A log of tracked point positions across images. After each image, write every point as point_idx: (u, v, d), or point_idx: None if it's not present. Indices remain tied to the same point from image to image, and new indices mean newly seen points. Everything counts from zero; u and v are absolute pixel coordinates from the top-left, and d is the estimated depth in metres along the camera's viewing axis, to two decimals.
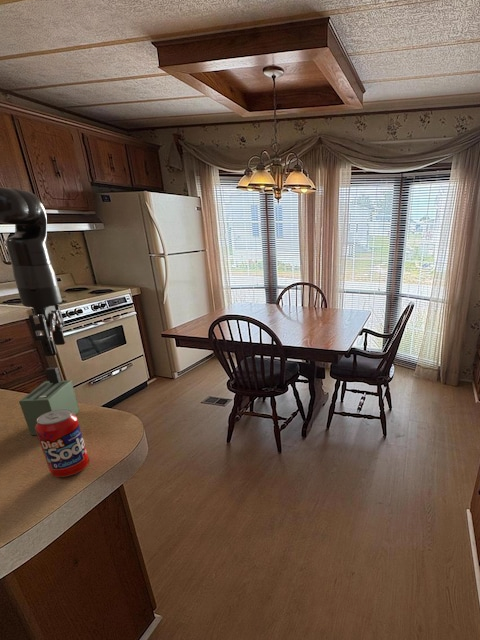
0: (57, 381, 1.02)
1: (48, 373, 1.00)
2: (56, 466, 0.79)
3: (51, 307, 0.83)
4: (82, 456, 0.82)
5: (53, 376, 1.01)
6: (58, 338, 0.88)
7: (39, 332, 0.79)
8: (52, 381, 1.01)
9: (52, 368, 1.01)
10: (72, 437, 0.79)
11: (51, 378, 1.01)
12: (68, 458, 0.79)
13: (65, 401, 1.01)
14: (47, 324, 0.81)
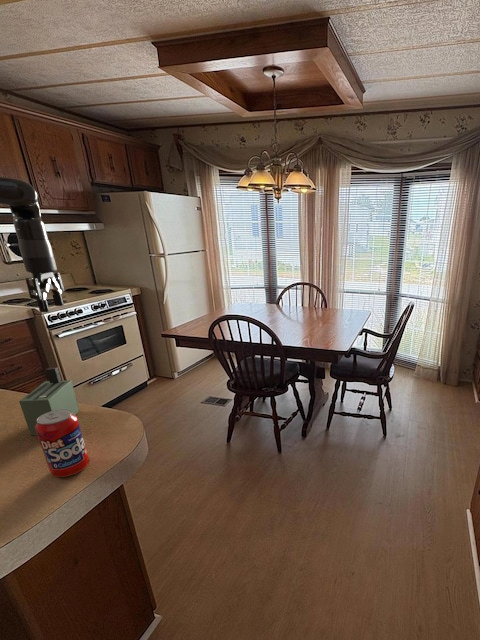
0: (57, 381, 1.02)
1: (48, 373, 1.00)
2: (56, 466, 0.79)
3: (48, 274, 1.05)
4: (82, 456, 0.82)
5: (53, 376, 1.01)
6: (57, 300, 1.11)
7: (36, 292, 1.02)
8: (52, 381, 1.01)
9: (52, 368, 1.01)
10: (72, 437, 0.79)
11: (51, 378, 1.01)
12: (68, 458, 0.79)
13: (65, 401, 1.01)
14: (43, 287, 1.03)
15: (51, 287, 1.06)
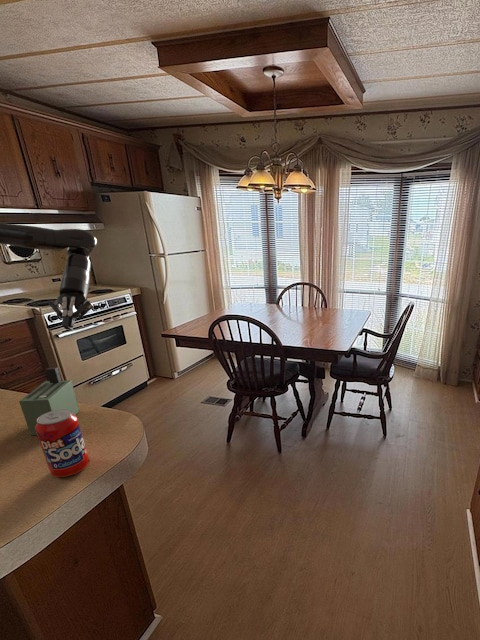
0: (57, 381, 1.02)
1: (48, 373, 1.00)
2: (56, 466, 0.79)
3: None
4: (82, 456, 0.82)
5: (53, 376, 1.01)
6: None
7: (73, 311, 1.11)
8: (52, 381, 1.01)
9: (52, 368, 1.01)
10: (72, 437, 0.79)
11: (51, 378, 1.01)
12: (68, 458, 0.79)
13: (65, 401, 1.01)
14: None
15: None
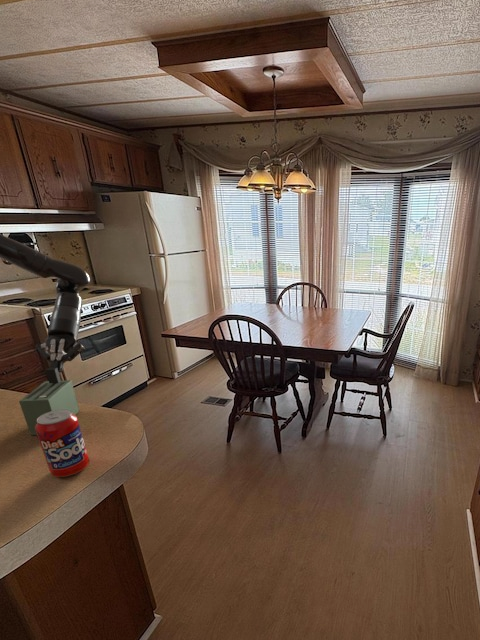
0: (57, 381, 1.01)
1: (48, 373, 1.00)
2: (56, 466, 0.79)
3: None
4: (82, 456, 0.82)
5: (53, 376, 1.01)
6: None
7: (62, 354, 1.04)
8: (52, 382, 1.01)
9: (52, 368, 1.00)
10: (72, 437, 0.79)
11: (51, 378, 1.01)
12: (68, 458, 0.79)
13: (65, 401, 1.01)
14: (71, 349, 1.07)
15: None
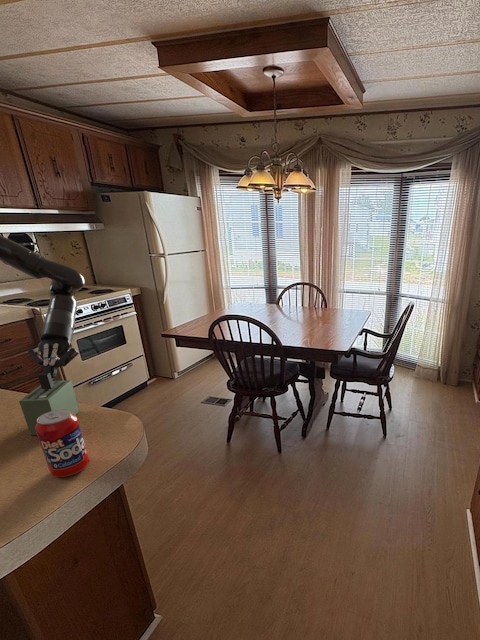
0: (49, 387, 0.98)
1: (40, 379, 0.97)
2: (56, 466, 0.79)
3: None
4: (82, 456, 0.82)
5: (46, 382, 0.97)
6: None
7: (56, 360, 1.01)
8: (44, 388, 0.98)
9: (44, 374, 0.97)
10: (72, 437, 0.79)
11: (43, 384, 0.97)
12: (68, 458, 0.79)
13: (65, 401, 1.01)
14: (65, 353, 1.03)
15: None
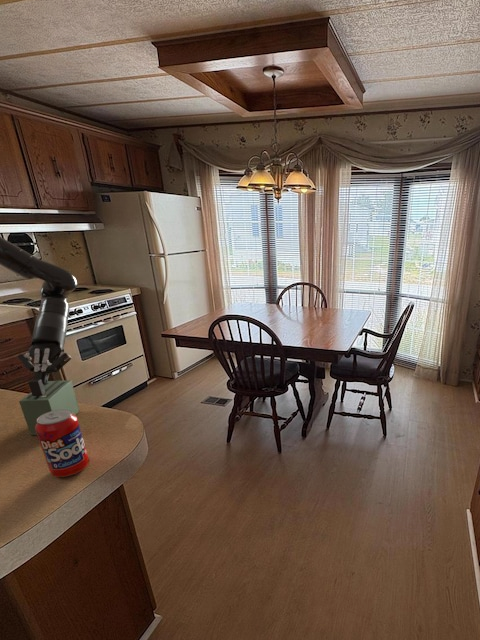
0: (41, 394, 0.94)
1: (31, 386, 0.92)
2: (56, 466, 0.79)
3: None
4: (82, 456, 0.82)
5: (36, 389, 0.93)
6: None
7: (47, 365, 0.96)
8: (35, 395, 0.94)
9: (35, 380, 0.93)
10: (72, 437, 0.79)
11: (34, 391, 0.93)
12: (68, 458, 0.79)
13: (65, 401, 1.01)
14: (57, 358, 0.99)
15: None
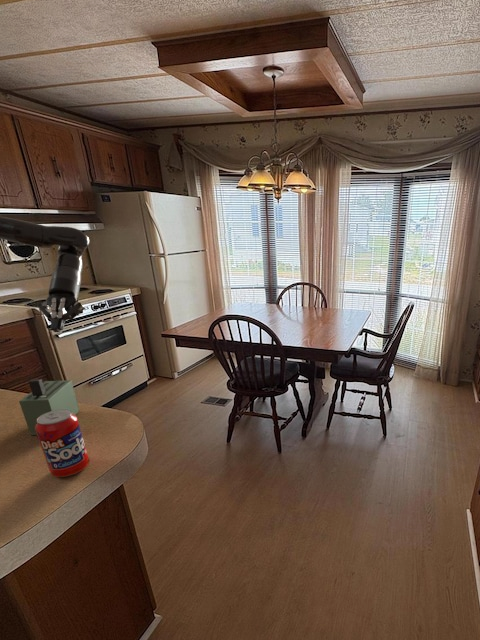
0: (41, 394, 0.94)
1: (31, 385, 0.93)
2: (56, 466, 0.79)
3: None
4: (82, 456, 0.82)
5: (37, 388, 0.93)
6: None
7: (63, 313, 1.05)
8: (36, 394, 0.94)
9: (35, 380, 0.93)
10: (72, 437, 0.79)
11: (34, 391, 0.93)
12: (68, 458, 0.79)
13: (65, 401, 1.01)
14: None
15: None
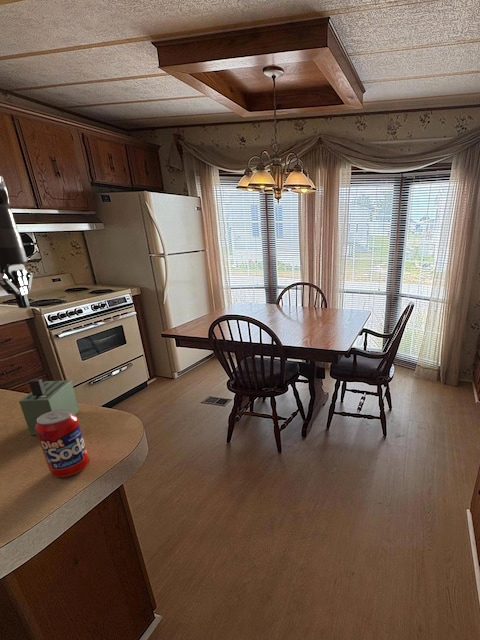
0: (41, 394, 0.94)
1: (31, 385, 0.93)
2: (56, 466, 0.79)
3: (18, 266, 0.97)
4: (82, 456, 0.82)
5: (37, 388, 0.93)
6: None
7: (11, 288, 0.97)
8: (36, 394, 0.94)
9: (35, 380, 0.93)
10: (72, 437, 0.79)
11: (34, 391, 0.93)
12: (68, 458, 0.79)
13: (65, 401, 1.01)
14: (11, 280, 0.95)
15: None
